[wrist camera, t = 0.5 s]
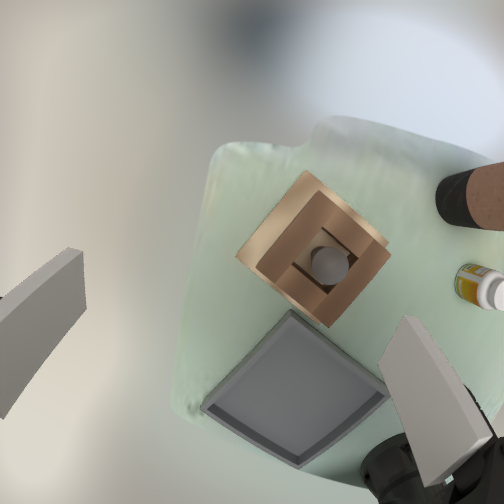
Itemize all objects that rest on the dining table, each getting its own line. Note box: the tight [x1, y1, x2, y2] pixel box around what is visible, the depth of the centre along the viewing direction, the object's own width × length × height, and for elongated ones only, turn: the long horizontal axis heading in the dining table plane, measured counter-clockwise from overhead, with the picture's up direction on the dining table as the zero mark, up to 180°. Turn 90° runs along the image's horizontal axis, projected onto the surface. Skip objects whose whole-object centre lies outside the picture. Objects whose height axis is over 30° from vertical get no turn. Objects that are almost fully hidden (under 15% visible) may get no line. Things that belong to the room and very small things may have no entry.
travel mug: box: [436, 162, 504, 231], centre depth 25 cm, size 8×8×20 cm
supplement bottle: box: [455, 264, 504, 311], centre depth 32 cm, size 5×5×10 cm
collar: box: [255, 190, 391, 328], centre depth 28 cm, size 9×9×4 cm
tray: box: [200, 309, 391, 470], centre depth 39 cm, size 20×20×3 cm
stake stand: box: [235, 170, 389, 325], centre depth 31 cm, size 14×14×15 cm
